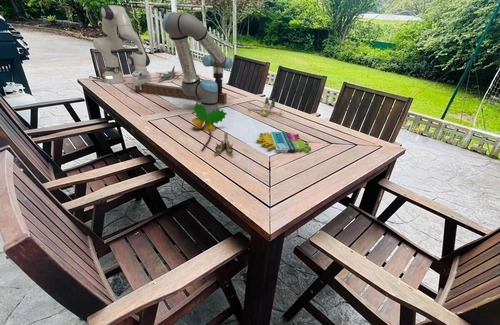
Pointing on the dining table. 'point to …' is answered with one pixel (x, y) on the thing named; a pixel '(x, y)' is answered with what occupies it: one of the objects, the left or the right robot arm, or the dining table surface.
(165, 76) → the airplane
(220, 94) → the bar
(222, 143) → the jawbone
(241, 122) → the dining table surface
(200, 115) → the ornament
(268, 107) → the toy
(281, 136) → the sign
